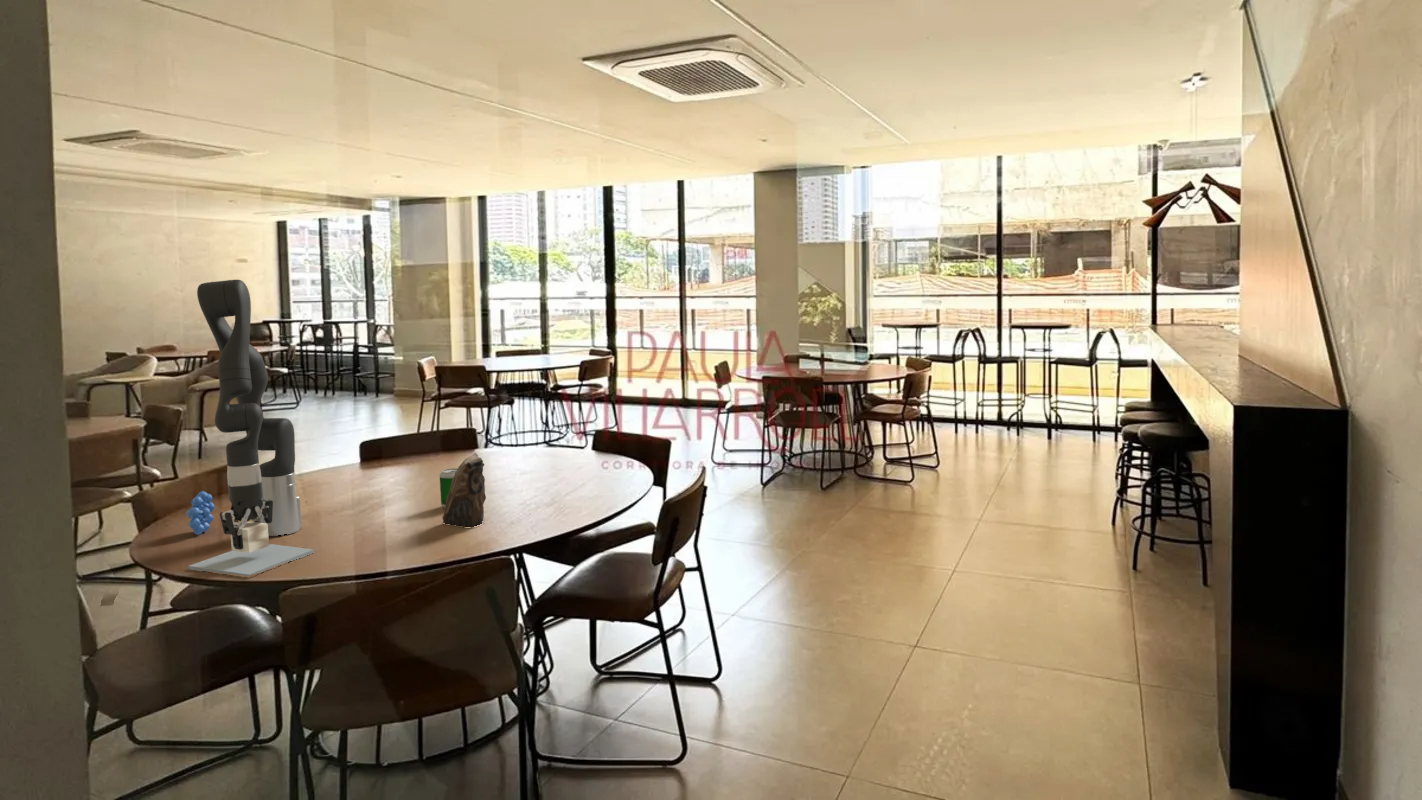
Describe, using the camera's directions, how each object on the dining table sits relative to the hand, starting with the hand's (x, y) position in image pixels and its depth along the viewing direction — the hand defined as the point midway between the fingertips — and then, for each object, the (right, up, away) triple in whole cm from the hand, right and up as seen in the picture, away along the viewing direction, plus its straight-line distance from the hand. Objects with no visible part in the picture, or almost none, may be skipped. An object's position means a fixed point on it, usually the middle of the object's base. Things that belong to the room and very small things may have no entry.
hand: (250, 544), depth 212 cm
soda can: (+36, +3, +51) cm, 63 cm away
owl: (+45, +1, +34) cm, 57 cm away
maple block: (0, -1, 0) cm, 1 cm away
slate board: (0, -4, +1) cm, 4 cm away
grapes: (-29, -1, +26) cm, 39 cm away
